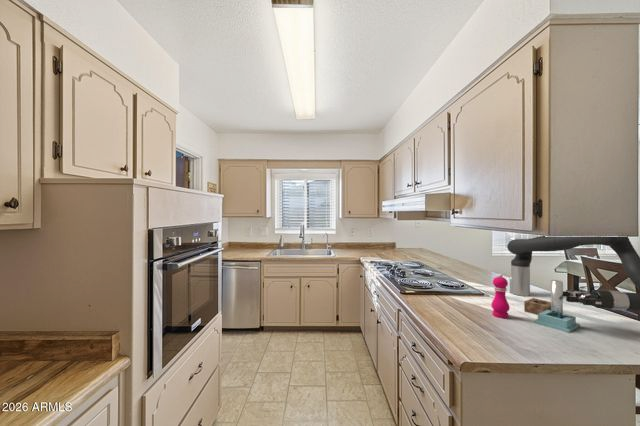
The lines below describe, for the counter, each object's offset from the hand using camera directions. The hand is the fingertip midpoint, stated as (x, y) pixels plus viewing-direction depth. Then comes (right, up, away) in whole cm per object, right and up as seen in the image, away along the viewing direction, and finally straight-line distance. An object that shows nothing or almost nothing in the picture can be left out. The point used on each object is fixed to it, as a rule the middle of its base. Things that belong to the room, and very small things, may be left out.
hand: (561, 296), depth 120 cm
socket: (-2, -13, +1) cm, 13 cm away
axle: (-2, -12, +1) cm, 12 cm away
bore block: (+3, -13, +15) cm, 20 cm away
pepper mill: (-20, -13, +11) cm, 26 cm away
